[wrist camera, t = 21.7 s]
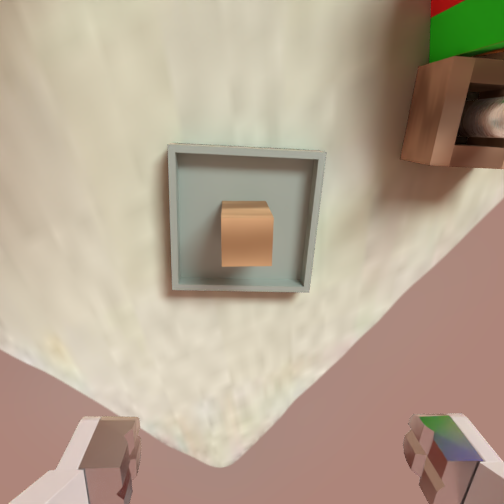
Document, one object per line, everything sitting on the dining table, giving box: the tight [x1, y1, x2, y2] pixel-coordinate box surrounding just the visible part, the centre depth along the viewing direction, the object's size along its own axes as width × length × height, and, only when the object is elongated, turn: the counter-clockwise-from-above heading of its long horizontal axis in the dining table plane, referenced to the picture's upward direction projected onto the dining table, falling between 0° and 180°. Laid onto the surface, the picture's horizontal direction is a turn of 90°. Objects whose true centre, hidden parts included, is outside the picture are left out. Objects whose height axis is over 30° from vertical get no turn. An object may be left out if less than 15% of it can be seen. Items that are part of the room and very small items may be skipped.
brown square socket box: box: [400, 56, 504, 169], centre depth 28 cm, size 8×8×5 cm
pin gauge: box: [457, 97, 504, 138], centre depth 25 cm, size 3×3×12 cm
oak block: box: [221, 201, 274, 267], centre depth 29 cm, size 4×4×6 cm
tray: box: [168, 143, 327, 292], centre depth 32 cm, size 13×13×2 cm
